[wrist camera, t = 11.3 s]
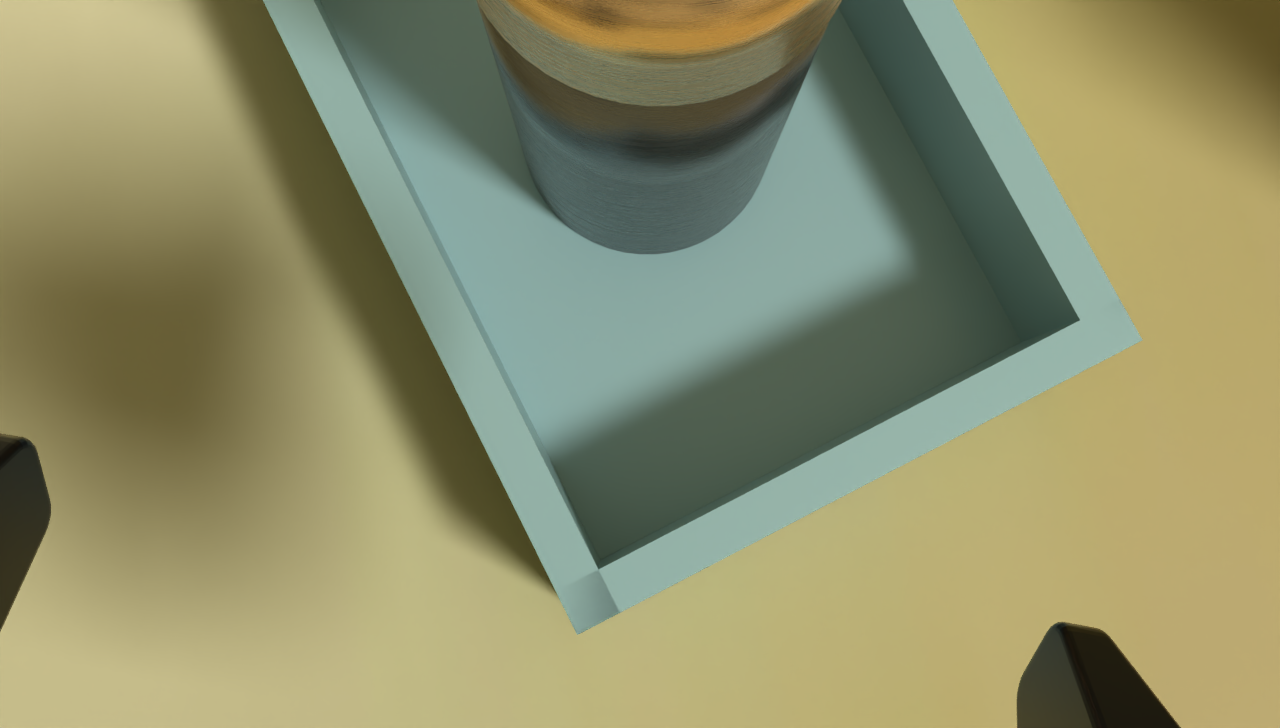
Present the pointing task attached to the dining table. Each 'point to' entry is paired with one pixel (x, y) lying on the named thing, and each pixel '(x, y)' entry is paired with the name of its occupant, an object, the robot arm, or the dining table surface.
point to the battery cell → (651, 107)
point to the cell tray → (715, 287)
